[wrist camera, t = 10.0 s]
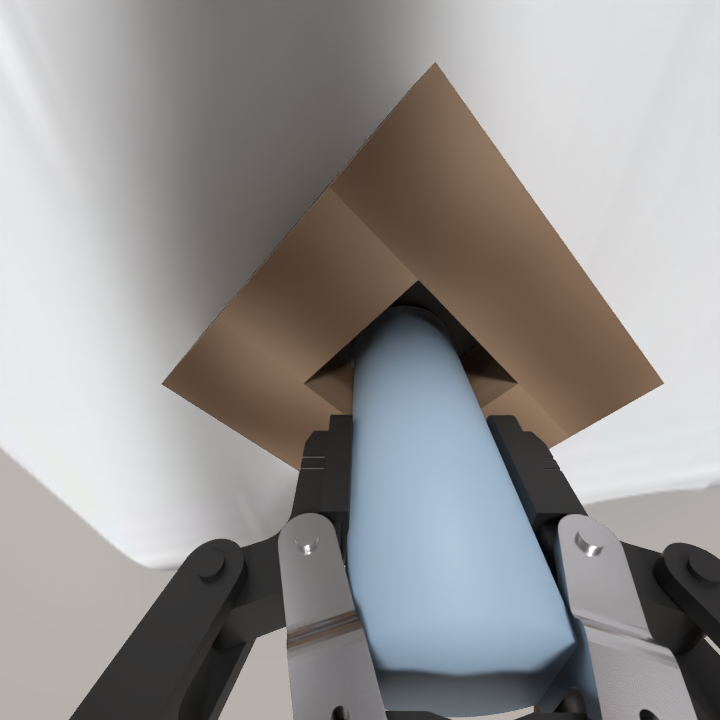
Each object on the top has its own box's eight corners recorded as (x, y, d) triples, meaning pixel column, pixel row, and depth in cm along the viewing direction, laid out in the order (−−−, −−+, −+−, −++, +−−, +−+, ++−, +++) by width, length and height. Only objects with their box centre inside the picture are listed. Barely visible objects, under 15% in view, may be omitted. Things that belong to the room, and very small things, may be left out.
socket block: (416, 82, 13) (435, 62, 9) (606, 335, 18) (663, 383, 14) (200, 337, 18) (161, 384, 14) (393, 475, 23) (398, 534, 20)
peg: (406, 285, 15) (491, 587, 5) (469, 349, 17) (632, 678, 7) (335, 349, 17) (291, 674, 7) (399, 402, 18) (442, 731, 8)
